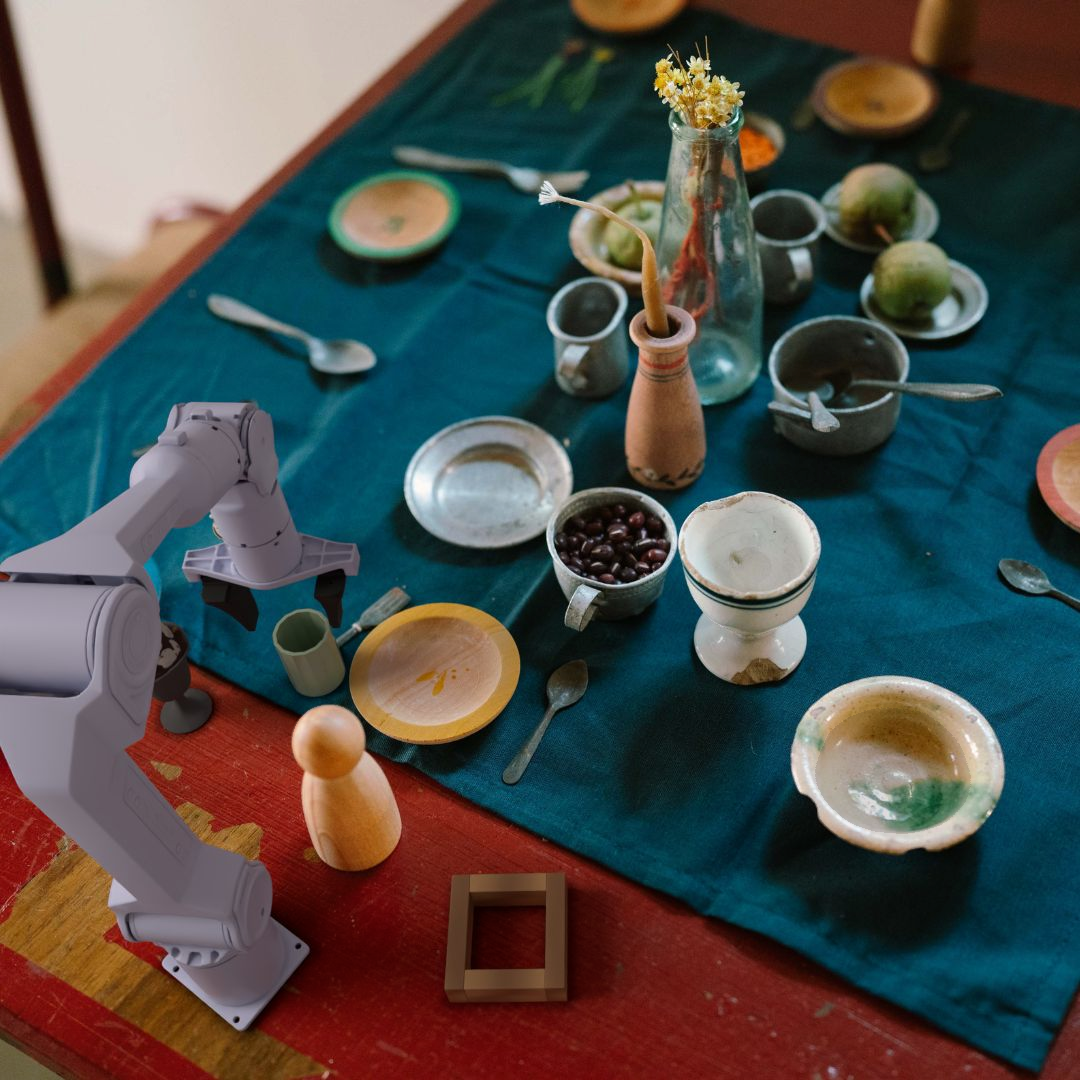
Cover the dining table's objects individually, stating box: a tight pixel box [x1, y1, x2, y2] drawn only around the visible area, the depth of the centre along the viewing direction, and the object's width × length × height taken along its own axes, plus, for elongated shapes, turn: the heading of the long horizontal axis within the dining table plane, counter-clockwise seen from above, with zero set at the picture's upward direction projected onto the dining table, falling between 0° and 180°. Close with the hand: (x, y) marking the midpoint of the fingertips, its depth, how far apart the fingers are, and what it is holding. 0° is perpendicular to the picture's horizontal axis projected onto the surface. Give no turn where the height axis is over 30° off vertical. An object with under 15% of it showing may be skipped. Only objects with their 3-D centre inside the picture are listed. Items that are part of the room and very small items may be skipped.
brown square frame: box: [443, 872, 568, 1003], centre depth 92 cm, size 9×9×3 cm
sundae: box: [152, 621, 213, 735], centre depth 105 cm, size 7×7×15 cm
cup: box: [272, 608, 346, 698], centre depth 109 cm, size 5×5×7 cm
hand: (295, 620), depth 104 cm, fingers open, 7 cm apart
